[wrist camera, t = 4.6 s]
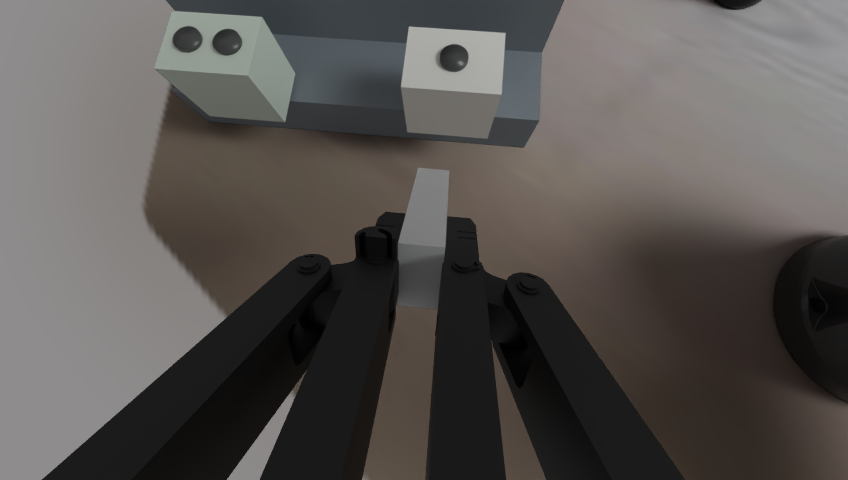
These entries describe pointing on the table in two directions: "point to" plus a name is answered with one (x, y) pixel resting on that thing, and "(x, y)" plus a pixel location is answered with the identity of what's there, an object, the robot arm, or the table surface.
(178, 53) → the key two
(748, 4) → the supplement bottle
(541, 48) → the grey stepped stand
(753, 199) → the table surface
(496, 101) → the key one
